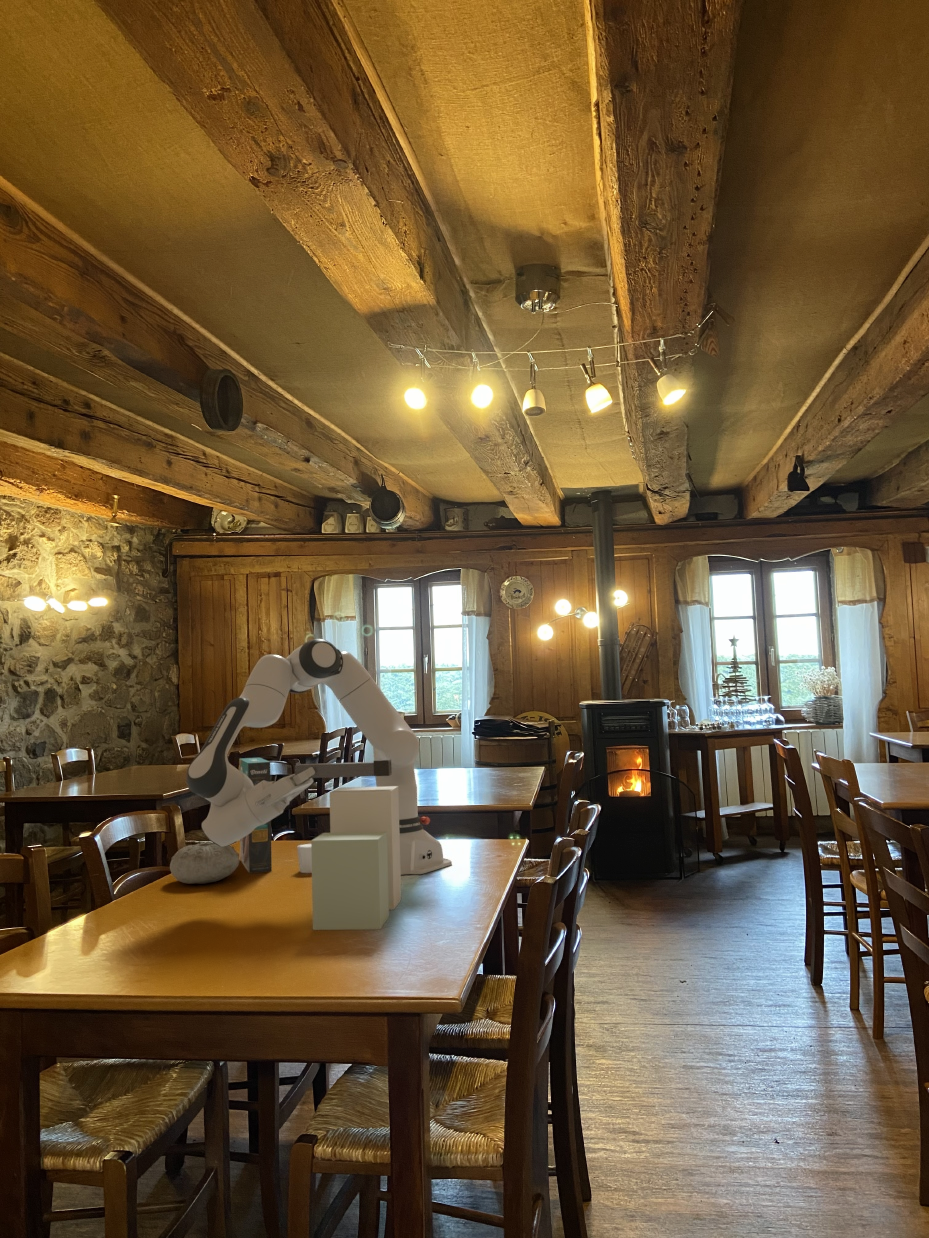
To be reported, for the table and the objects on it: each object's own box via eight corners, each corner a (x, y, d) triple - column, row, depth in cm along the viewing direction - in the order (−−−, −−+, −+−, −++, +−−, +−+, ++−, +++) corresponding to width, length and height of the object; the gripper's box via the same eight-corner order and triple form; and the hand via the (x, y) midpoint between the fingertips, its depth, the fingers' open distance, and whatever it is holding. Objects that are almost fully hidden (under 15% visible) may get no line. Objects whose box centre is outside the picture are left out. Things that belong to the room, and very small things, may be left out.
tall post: (331, 910, 195) (329, 792, 197) (342, 899, 205) (339, 787, 207) (393, 909, 194) (390, 790, 196) (401, 899, 204) (398, 786, 206)
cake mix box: (240, 860, 261) (239, 758, 263) (261, 858, 263) (259, 757, 266) (249, 873, 240) (248, 763, 243) (271, 871, 243) (270, 761, 245)
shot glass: (317, 873, 237) (317, 847, 238) (293, 873, 238) (293, 847, 239) (326, 868, 244) (326, 842, 244) (303, 868, 245) (302, 842, 246)
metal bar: (294, 778, 202) (294, 763, 202) (299, 776, 205) (298, 761, 205) (389, 775, 200) (388, 760, 200) (391, 774, 203) (391, 759, 204)
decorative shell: (165, 879, 236) (165, 841, 237) (231, 871, 244) (231, 835, 245) (176, 891, 220) (175, 851, 221) (247, 882, 228) (246, 843, 229)
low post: (312, 929, 179) (311, 840, 181) (325, 917, 189) (323, 832, 191) (380, 929, 178) (378, 839, 180) (389, 916, 188) (386, 831, 190)
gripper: (245, 793, 194) (297, 760, 193) (273, 783, 214) (320, 753, 214) (259, 818, 193) (312, 785, 193) (286, 806, 213) (334, 776, 213)
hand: (316, 768), depth 203 cm, fingers closed on metal bar, 3 cm apart
